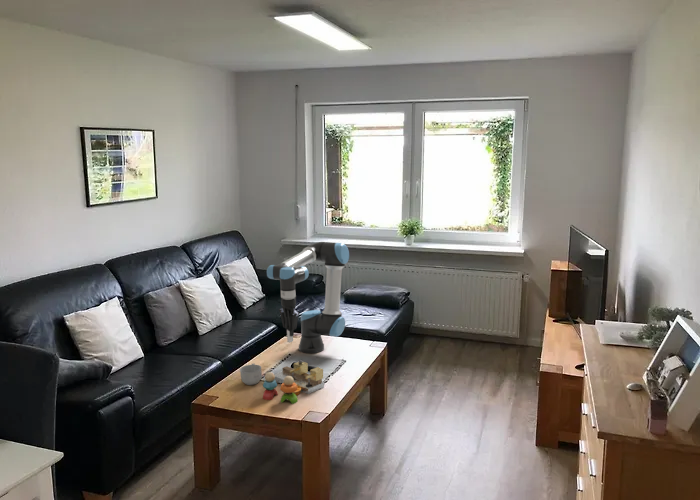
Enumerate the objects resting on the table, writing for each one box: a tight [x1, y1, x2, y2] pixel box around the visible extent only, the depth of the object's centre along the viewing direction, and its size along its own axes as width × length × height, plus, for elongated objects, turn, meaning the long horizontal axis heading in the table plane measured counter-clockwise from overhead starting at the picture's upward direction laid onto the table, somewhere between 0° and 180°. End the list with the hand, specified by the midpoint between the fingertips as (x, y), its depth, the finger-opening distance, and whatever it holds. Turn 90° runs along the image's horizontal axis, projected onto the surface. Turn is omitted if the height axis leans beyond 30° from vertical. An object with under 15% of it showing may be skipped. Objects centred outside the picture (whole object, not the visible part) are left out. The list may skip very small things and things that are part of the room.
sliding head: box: [289, 359, 309, 379], centre depth 288 cm, size 10×5×8 cm, turn 138°
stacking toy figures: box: [262, 371, 302, 405], centre depth 273 cm, size 18×17×12 cm
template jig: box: [273, 366, 325, 395], centre depth 288 cm, size 11×27×9 cm, turn 48°
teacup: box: [239, 362, 263, 386], centre depth 291 cm, size 14×11×8 cm
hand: (290, 341), depth 293 cm, fingers closed
